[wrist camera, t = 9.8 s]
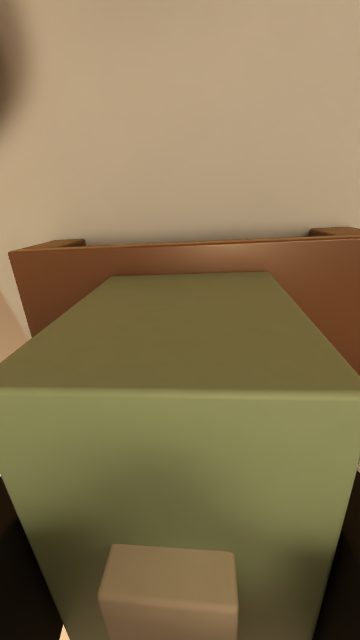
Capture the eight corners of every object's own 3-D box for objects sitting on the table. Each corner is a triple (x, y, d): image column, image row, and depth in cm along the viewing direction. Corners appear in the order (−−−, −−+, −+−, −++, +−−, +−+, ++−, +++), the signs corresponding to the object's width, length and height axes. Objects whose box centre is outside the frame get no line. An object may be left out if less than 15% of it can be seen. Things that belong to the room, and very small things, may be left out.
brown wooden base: (312, 445, 15) (335, 500, 12) (96, 438, 16) (73, 487, 13) (349, 226, 11) (398, 235, 8) (53, 240, 12) (6, 251, 9)
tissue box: (255, 478, 12) (304, 768, 6) (140, 473, 13) (75, 736, 6) (269, 270, 9) (427, 447, 2) (110, 275, 9) (-94, 430, 3)
